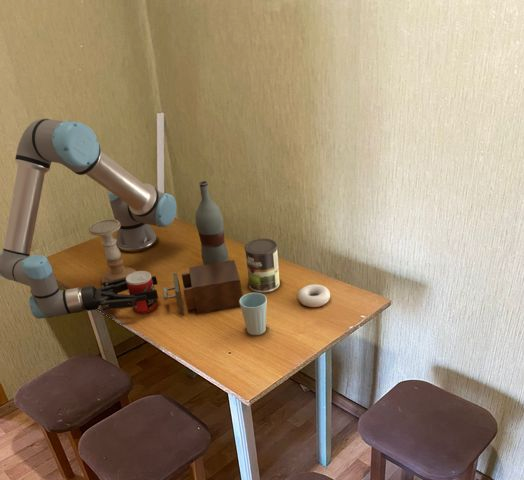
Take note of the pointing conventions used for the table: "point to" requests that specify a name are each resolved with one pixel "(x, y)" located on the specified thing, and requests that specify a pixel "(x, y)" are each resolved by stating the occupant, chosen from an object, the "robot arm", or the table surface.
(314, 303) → the donut
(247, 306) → the cup
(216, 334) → the table surface
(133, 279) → the canned food
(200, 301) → the cabinet
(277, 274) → the coffee can
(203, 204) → the bottle
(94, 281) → the table surface
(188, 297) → the drawer
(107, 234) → the candle holder
